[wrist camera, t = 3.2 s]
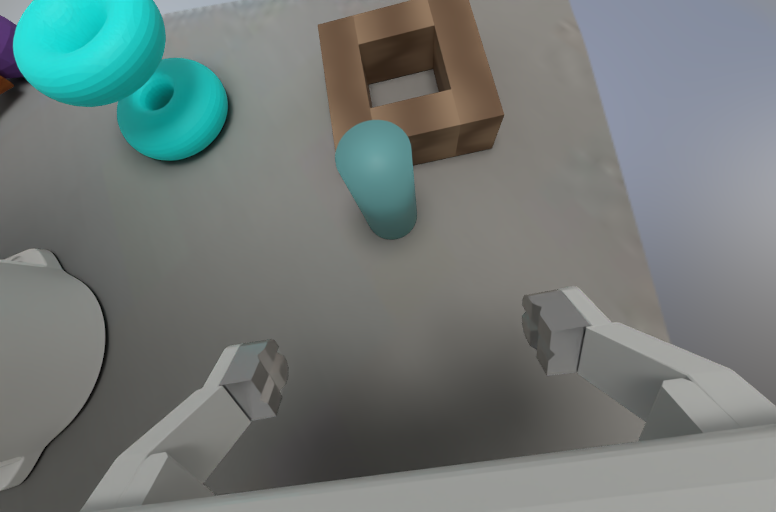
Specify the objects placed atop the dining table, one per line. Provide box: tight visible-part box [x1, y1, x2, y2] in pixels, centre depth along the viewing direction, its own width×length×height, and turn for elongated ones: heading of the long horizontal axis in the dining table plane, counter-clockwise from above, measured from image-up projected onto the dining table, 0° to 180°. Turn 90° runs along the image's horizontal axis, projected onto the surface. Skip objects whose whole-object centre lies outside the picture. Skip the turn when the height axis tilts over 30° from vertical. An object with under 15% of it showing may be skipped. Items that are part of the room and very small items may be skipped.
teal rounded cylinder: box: [335, 120, 417, 239], centre depth 20 cm, size 4×4×9 cm
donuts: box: [13, 0, 228, 161], centre depth 24 cm, size 10×10×10 cm
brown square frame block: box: [318, 0, 504, 165], centre depth 24 cm, size 12×12×4 cm
